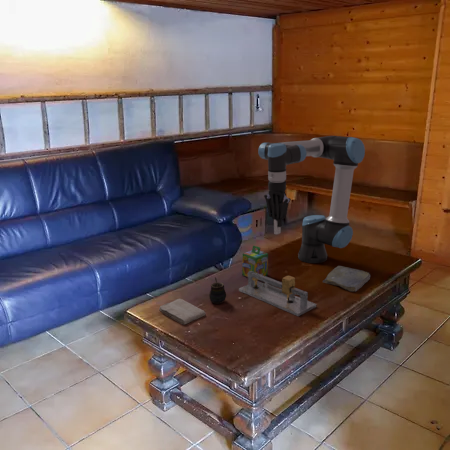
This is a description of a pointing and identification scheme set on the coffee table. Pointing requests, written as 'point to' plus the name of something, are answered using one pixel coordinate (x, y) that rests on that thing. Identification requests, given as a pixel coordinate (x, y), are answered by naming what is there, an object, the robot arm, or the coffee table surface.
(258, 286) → the trammel beam
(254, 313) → the coffee table surface
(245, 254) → the chalk box
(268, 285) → the combination wrench
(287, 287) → the block
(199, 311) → the washcloth
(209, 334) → the coffee table surface
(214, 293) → the mate gourd
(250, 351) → the coffee table surface
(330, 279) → the grey stone slab
